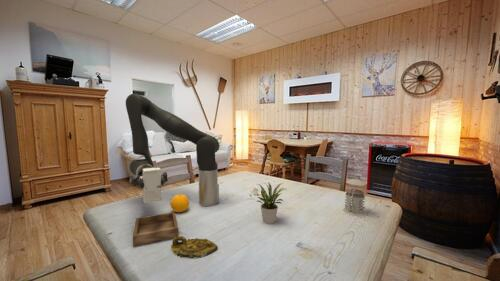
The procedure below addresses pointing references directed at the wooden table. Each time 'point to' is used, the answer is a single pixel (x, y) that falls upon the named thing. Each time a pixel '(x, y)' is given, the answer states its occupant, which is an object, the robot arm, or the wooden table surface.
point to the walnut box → (155, 229)
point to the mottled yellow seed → (192, 247)
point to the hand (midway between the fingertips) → (152, 183)
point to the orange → (179, 203)
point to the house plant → (269, 203)
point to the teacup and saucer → (255, 191)
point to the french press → (355, 198)
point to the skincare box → (152, 184)
